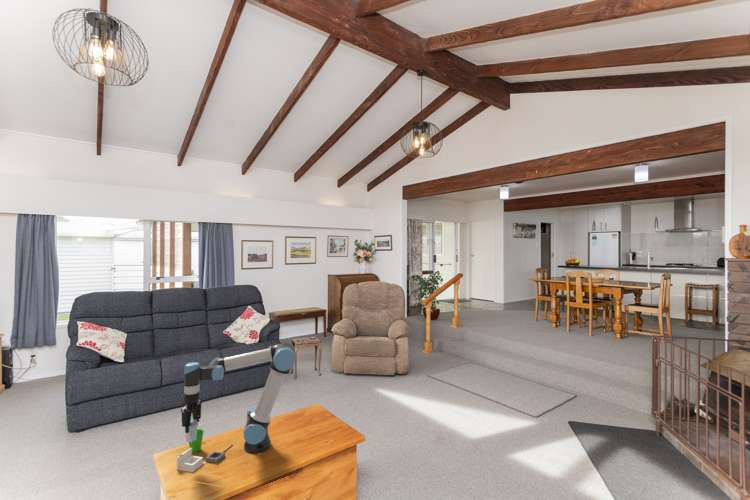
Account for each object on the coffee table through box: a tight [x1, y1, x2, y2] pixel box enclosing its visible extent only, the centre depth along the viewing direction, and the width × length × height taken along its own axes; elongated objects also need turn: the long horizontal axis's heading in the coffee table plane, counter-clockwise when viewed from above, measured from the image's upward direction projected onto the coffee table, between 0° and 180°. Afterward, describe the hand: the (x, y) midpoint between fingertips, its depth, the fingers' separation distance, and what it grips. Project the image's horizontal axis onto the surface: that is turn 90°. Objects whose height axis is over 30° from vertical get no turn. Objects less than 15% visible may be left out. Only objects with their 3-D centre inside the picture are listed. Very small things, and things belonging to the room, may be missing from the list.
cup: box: [188, 428, 205, 454], centre depth 219 cm, size 9×9×11 cm
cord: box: [222, 444, 234, 454], centre depth 220 cm, size 1×12×1 cm, turn 165°
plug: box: [185, 418, 198, 443], centre depth 204 cm, size 4×4×10 cm
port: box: [176, 447, 206, 473], centre depth 204 cm, size 10×10×8 cm
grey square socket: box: [205, 450, 226, 464], centre depth 210 cm, size 7×7×3 cm
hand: (191, 435), depth 204 cm, fingers closed on plug, 4 cm apart
